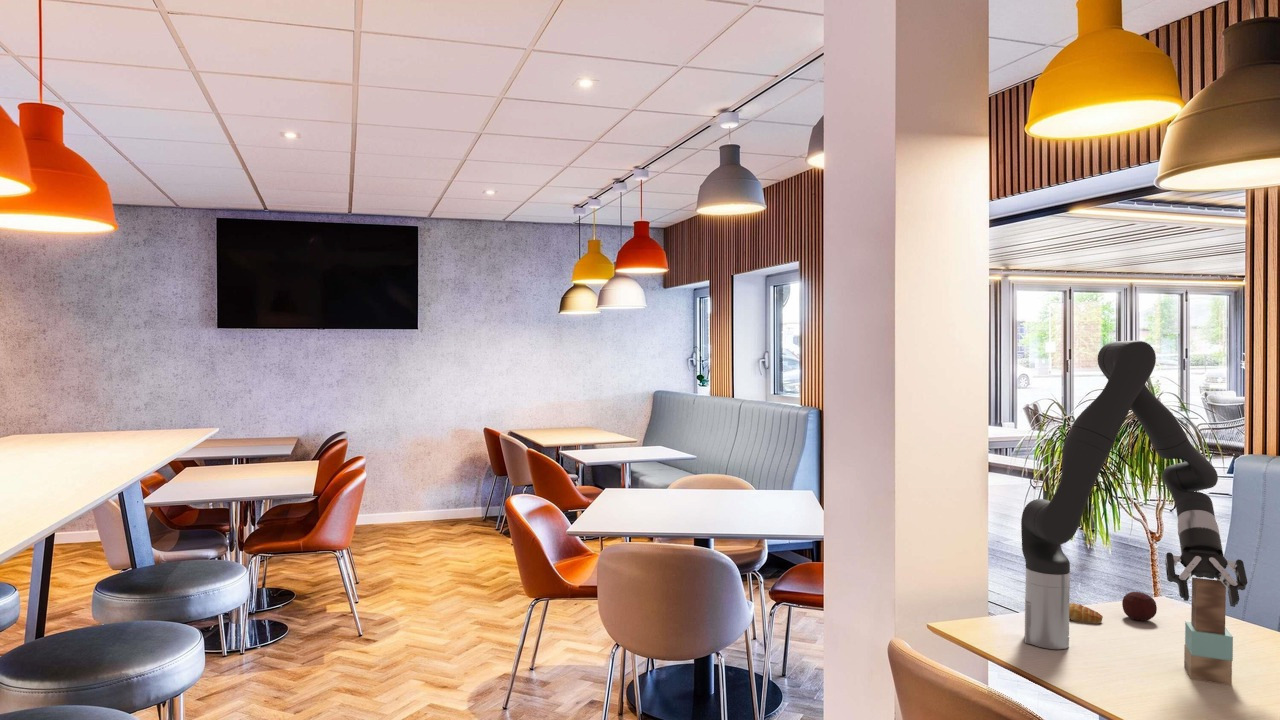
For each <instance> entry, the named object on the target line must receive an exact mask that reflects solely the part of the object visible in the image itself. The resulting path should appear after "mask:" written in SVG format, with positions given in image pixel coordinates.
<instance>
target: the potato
mask: <svg viewBox="0 0 1280 720" xmlns="http://www.w3.org/2000/svg"><path fill="white" fill-rule="evenodd" d="M1121 603H1122V604H1121V605H1122V610H1123V612H1124V614H1125V615H1126V616H1127V617H1128V618H1130V619H1133V620H1136V621H1140V622H1141V621H1143V622H1144V621H1145V622H1146V621H1150V620H1152V619H1153V618H1154V617H1155V616H1156V614H1157V612H1158V611H1157V610H1158V607H1157V606H1158V605H1157V602H1156V601H1155V599H1154V598H1153V597H1151V596H1150V595H1148V594H1146V593H1144V592H1141V591H1140V592H1139V591H1131V592H1128V593H1127V594H1125V595H1124V596H1123V598H1122V601H1121Z"/></svg>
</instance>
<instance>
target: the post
mask: <svg viewBox="0 0 1280 720" xmlns="http://www.w3.org/2000/svg"><path fill="white" fill-rule="evenodd" d="M1226 592H1227V588H1226V586H1225V585H1224V584H1223V583H1222V582H1221V581H1220V580H1217V579H1209V578H1203V577H1201V578H1200V577H1193V576H1192V577H1191V614H1190V615H1191V619H1190V620H1191V621H1190V622H1191V624H1192V626H1193V627H1194V629H1195V630H1196V631H1201V632H1208V633H1215V634H1223V635H1225V627H1226V605H1227V603H1226V599H1227V597H1226Z"/></svg>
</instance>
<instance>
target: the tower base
mask: <svg viewBox="0 0 1280 720" xmlns="http://www.w3.org/2000/svg"><path fill="white" fill-rule="evenodd" d="M1183 646H1184V657H1183V658H1184V659H1183V660H1184V661H1183V663H1184V665H1183V668H1184V669H1185V671H1186V673H1187V675H1188V677H1189V679H1190V680H1196V681H1201V682H1210V683H1215V684H1220V685H1221V684H1222V685H1229V686H1232V684H1233V681H1232V680H1233V677H1232V676H1233V671H1232V670H1233V661H1228V660H1221V659H1214V658H1207V657H1200V656H1193V655H1191V654H1190V652H1189V650H1188V648H1187V647H1186V645H1185V643H1184V645H1183Z"/></svg>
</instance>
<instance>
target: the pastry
mask: <svg viewBox="0 0 1280 720" xmlns="http://www.w3.org/2000/svg"><path fill="white" fill-rule="evenodd" d="M1069 620H1071V621H1074V622H1077V623H1079V622H1080V623H1083V622H1084V624H1085V623H1086V624H1091V625H1093V624H1101V623H1102V622H1103V615H1102V614H1101V613H1099V612H1098V611H1095V610H1094V609H1091V608H1089V607H1087V606H1084V605H1082V604H1080V603H1079V604H1078V603H1074V602H1072V603H1070V602H1069Z"/></svg>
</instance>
